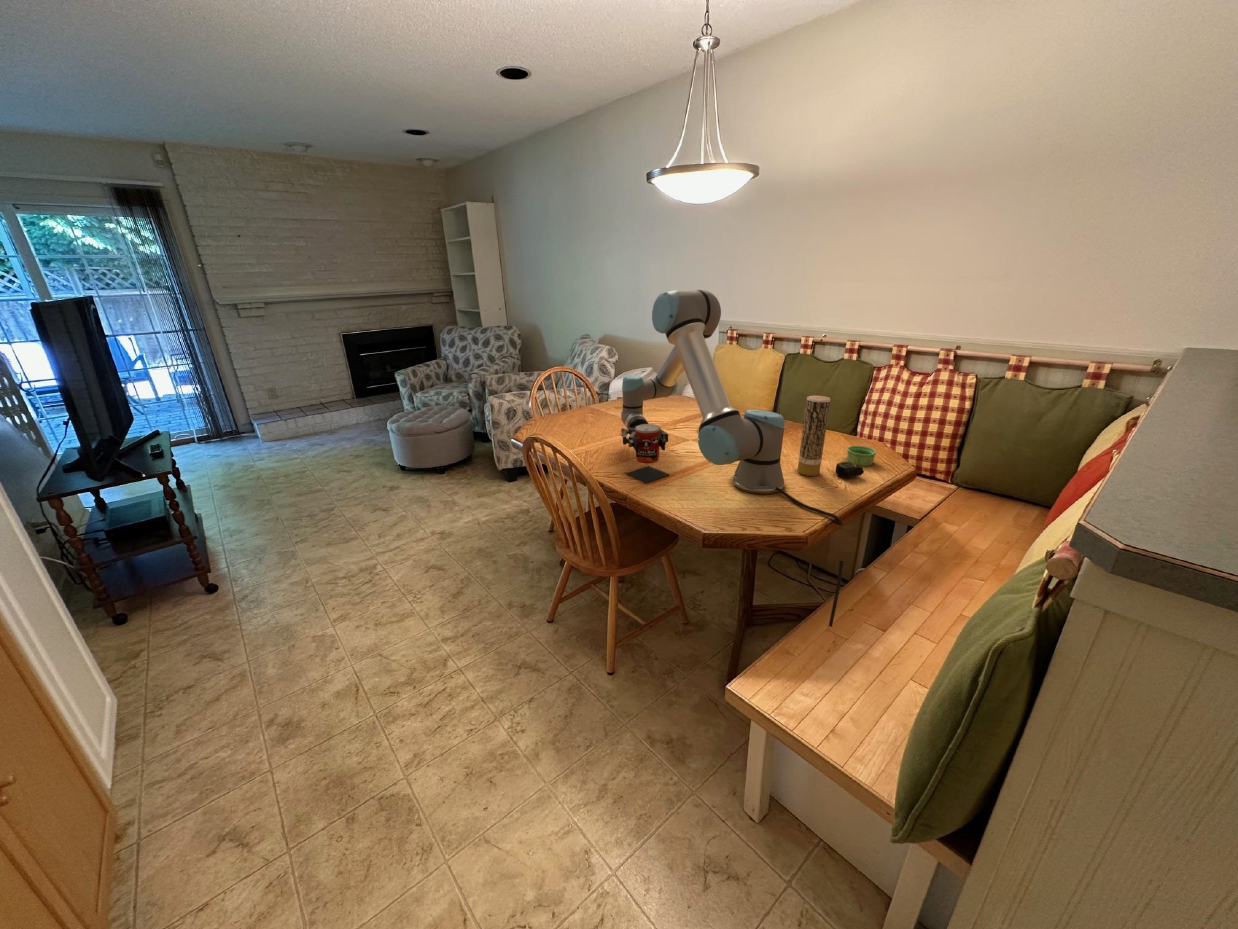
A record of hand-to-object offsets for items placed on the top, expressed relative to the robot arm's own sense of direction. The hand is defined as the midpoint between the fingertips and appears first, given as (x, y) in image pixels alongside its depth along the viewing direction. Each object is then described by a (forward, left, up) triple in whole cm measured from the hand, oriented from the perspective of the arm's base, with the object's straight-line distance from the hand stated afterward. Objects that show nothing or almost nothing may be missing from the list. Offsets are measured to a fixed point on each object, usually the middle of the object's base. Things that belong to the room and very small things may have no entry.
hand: (650, 447), depth 148 cm
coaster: (+4, -2, -11) cm, 12 cm away
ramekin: (-35, -65, -11) cm, 75 cm away
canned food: (+4, -2, -6) cm, 8 cm away
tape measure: (-39, -50, -11) cm, 65 cm away
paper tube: (-29, -43, -11) cm, 53 cm away
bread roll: (+21, -53, -11) cm, 59 cm away
